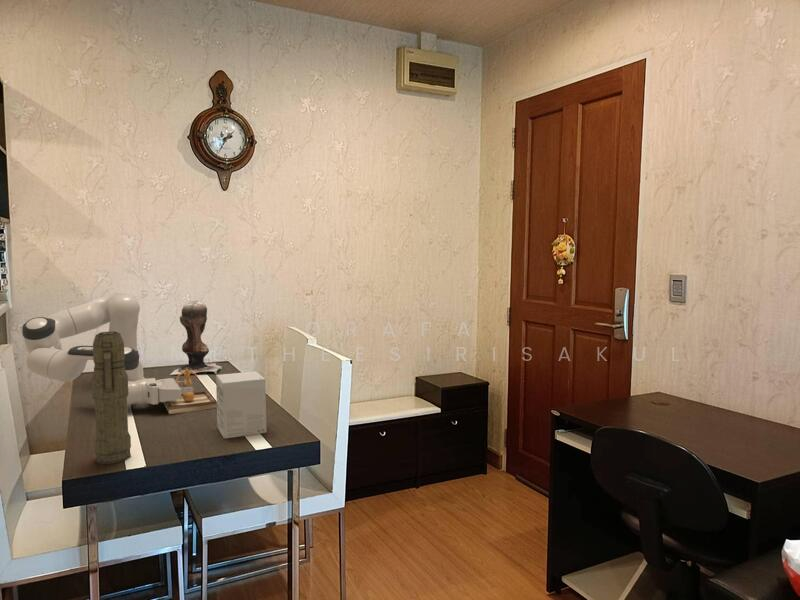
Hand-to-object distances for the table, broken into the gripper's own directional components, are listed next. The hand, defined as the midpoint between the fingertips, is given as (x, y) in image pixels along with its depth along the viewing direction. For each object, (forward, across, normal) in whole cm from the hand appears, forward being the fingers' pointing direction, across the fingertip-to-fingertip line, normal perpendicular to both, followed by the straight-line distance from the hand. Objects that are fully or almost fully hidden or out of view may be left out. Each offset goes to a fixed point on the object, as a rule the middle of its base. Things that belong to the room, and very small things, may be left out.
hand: (190, 386), depth 211 cm
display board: (-1, 0, -7) cm, 7 cm away
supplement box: (+9, +39, -7) cm, 41 cm away
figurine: (-1, 0, -6) cm, 6 cm away
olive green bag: (-28, +47, -7) cm, 55 cm away
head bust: (+13, -64, -7) cm, 66 cm away
